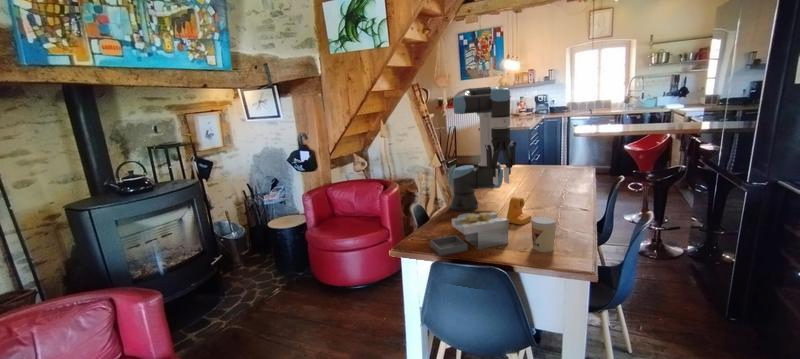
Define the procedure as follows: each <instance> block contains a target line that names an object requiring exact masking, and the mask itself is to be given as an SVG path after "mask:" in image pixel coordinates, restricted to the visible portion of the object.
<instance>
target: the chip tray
mask: <svg viewBox="0 0 800 359" xmlns="http://www.w3.org/2000/svg"><path fill="white" fill-rule="evenodd" d="M429 245H430V246H429V247H430V248H431V249H432V250H433V251H434V252H436V254H438V256H439V257H443V256H450V255H454V254H459V253H460V254H461V253H465V252H468V251H469V250H468V249H469V248H468V247H469V246H468V243H467V242H466V241H464V240H463V239H462V238H460V237H459V236H458V235H457V234H454V235H449V236H445V237H439V238H433V239H429Z"/></svg>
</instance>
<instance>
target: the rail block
mask: <svg viewBox="0 0 800 359" xmlns="http://www.w3.org/2000/svg"><path fill="white" fill-rule="evenodd" d="M488 213H489V214H490V217H491V220H487V221H481V222H479V213H477V214H478V215H476V216H477V217H478V222H476V223H470V224H466V217H460V218H457V217H455V218H451V226H452V227H454V228H455V229H456V230H458V231H459V232H460V233H461V234H463V235H464V240H465V242H468V243H469V244H470V245H471V246H473V247H474V248H475V249H477V250H483V249H488V248H493V247H498V246H499V247H500V246H503V245H509V222H508V219H507V217H498V214H497V213H496V212H494V211H491V212H488Z"/></svg>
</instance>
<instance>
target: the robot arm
mask: <svg viewBox="0 0 800 359" xmlns="http://www.w3.org/2000/svg"><path fill="white" fill-rule="evenodd" d="M452 100H453V102H452V103H453V113H454V114H455V115H465V114H467V115H468V114H476V115H477V116H478V117H479V142H480V145H479V146H480V149H479V150H480V162H479V163H478V164H477V167H475V166H474V165H473V164H470V165H469V164H467V165H461V166H458V167H455V168H454V169H453V171H452V183H453V184H452V188H453V192H452V193H453V195H452V199H451V202H450V209H451V210H453V211H456V212H463V213H464V212H473V211H476V210H478V209H479V202H478V199H477V197H476V193H475V192H476V191H475V190H487V189H488V190H490V189H491V190H494V189H499V188H501V187H502V184H503V182H504V183H506V184H510V175H511V172H512V171H511V170H512V168H513V166H515V165H516V147H517V141H513V140H511V138H510V137H511V128H510V127H511V90H510V89H509V88H508V87H507V88H499V87H497V86H486V87H472V88H471V87H470V88H465V89H462V90H460V91H458V92H457V93H456V94H455V95H454V97H453V99H452ZM501 152H502V156H503V159H504V165H505V166H504V167H502V166H501V163H500V162H499V155H500V154H501Z"/></svg>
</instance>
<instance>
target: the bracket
mask: <svg viewBox="0 0 800 359" xmlns="http://www.w3.org/2000/svg"><path fill="white" fill-rule="evenodd" d="M524 207H525V199H524V198H523V197H517V196H511V198H510V200H509V204H508V210H507V214H506V219H508V223H511V224H515V225H522V226H523V225H526V224H527V223H529V222H530V221H531V220H532V214H530V213H529V214H528V213H524V212H523V208H524Z"/></svg>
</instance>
